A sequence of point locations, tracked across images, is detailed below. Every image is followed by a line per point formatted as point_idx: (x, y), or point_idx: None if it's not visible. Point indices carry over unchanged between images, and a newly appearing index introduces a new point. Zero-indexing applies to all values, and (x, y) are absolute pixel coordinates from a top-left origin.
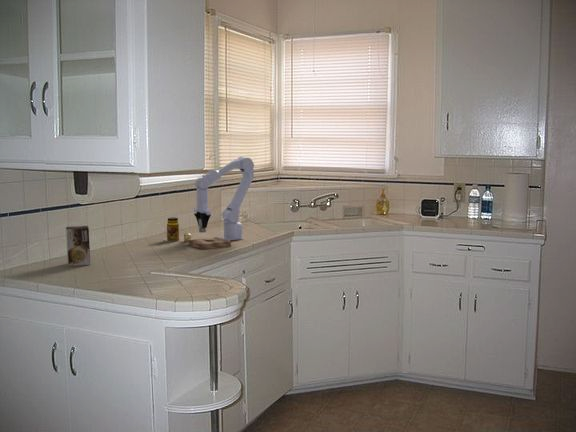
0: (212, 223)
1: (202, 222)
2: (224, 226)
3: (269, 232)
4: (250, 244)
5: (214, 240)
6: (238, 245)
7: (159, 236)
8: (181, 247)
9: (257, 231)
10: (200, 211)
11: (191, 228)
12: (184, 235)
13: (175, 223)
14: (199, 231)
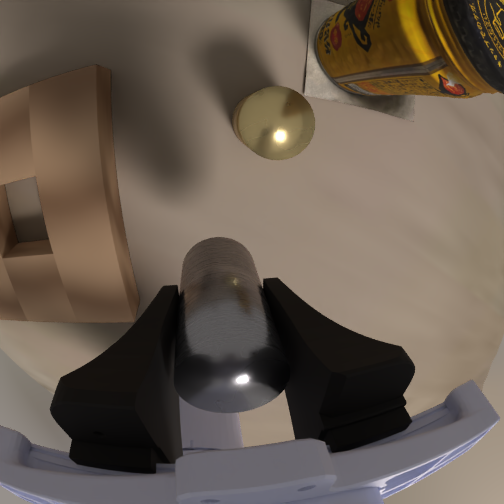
0: (480, 375)
1: (137, 321)
2: (192, 427)
3: None
4: (43, 380)
5: (21, 255)
6: (23, 338)
7: (493, 99)
8: (64, 6)
9: None
10: (115, 484)
11: (498, 311)
12: (275, 87)
13: (412, 8)
14: (214, 240)
